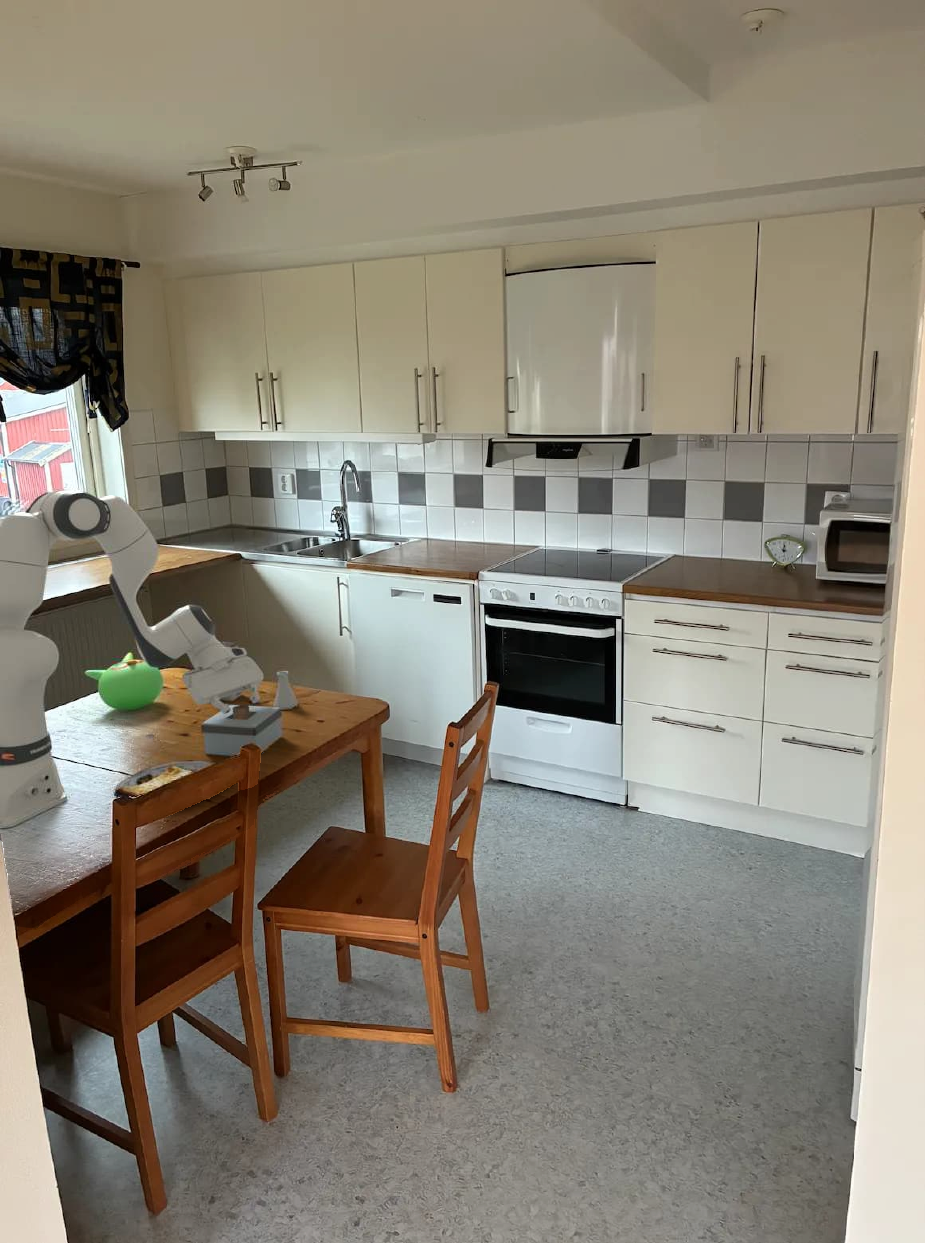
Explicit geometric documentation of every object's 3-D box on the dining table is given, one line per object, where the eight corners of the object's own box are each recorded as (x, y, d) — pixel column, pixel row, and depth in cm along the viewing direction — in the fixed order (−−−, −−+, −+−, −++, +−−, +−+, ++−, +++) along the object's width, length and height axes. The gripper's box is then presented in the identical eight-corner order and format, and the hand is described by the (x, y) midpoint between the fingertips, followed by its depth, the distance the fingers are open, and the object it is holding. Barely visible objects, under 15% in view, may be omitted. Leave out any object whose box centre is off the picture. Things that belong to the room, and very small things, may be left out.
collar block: (257, 757, 229) (254, 726, 227) (204, 754, 233) (200, 723, 231) (283, 736, 242) (281, 707, 240) (232, 733, 246) (229, 704, 244)
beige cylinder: (247, 748, 235) (244, 710, 233) (233, 747, 236) (229, 709, 234) (255, 743, 239) (251, 705, 236) (240, 742, 240) (237, 704, 237)
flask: (292, 711, 262) (290, 676, 260) (268, 710, 264) (265, 675, 261) (302, 702, 269) (299, 669, 267) (278, 701, 270) (275, 668, 268)
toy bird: (126, 721, 258) (119, 670, 255) (86, 712, 267) (80, 662, 264) (177, 702, 273) (171, 653, 270) (138, 694, 282) (132, 647, 278)
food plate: (167, 821, 196) (166, 805, 195) (92, 802, 207) (90, 787, 206) (250, 780, 217) (249, 766, 216) (178, 765, 228) (176, 751, 228)
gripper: (183, 666, 228) (213, 711, 225) (249, 646, 244) (278, 688, 240) (174, 681, 232) (203, 725, 228) (239, 660, 248) (267, 702, 244)
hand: (242, 706), depth 235 cm, fingers open, 8 cm apart
